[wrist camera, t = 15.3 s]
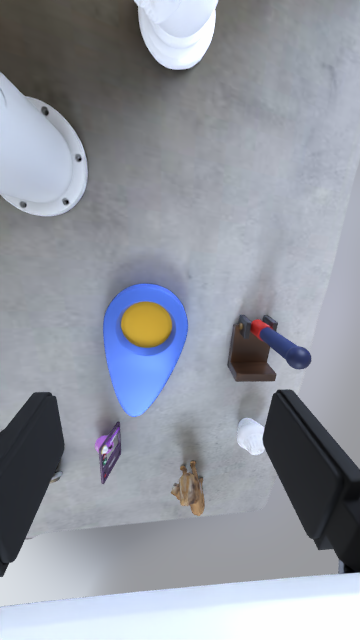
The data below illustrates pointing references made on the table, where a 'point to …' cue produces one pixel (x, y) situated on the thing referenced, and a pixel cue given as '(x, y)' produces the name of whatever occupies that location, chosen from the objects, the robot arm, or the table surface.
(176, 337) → the location marker
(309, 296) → the table surface
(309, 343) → the table surface
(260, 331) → the blue lever handle
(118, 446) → the purple toy package
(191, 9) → the cherub figurine
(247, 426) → the muffin
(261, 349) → the brown lever base
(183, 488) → the lion figurine
